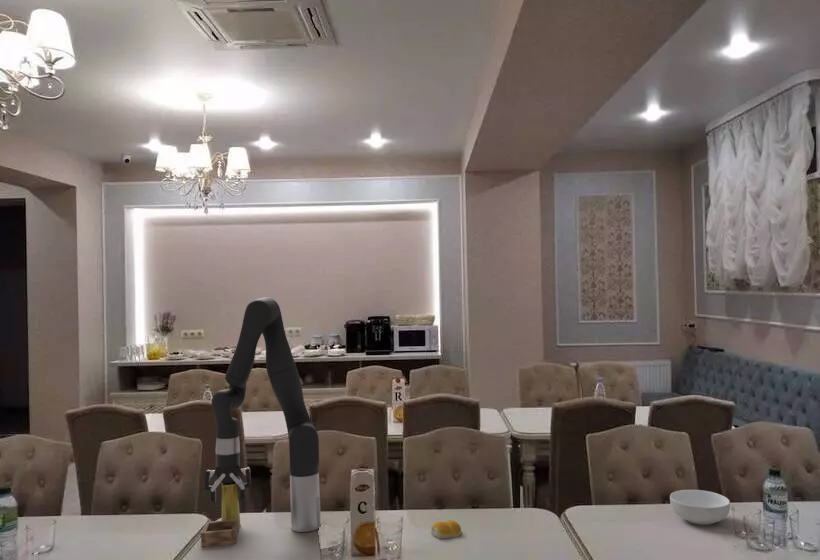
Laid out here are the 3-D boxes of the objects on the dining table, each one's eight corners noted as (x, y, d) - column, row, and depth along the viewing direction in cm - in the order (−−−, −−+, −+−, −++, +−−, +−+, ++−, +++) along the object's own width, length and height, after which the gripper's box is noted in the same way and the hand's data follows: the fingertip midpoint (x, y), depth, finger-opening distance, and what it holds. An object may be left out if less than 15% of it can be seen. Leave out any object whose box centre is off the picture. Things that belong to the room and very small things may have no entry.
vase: (235, 530, 202) (233, 485, 203) (217, 530, 203) (216, 485, 204) (243, 524, 208) (242, 480, 209) (226, 523, 209) (225, 479, 210)
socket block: (238, 531, 201) (238, 518, 201) (235, 543, 192) (235, 530, 192) (206, 534, 200) (205, 521, 200) (201, 546, 190) (200, 533, 190)
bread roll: (466, 535, 192) (465, 522, 192) (440, 541, 188) (439, 527, 188) (451, 526, 200) (451, 514, 200) (426, 532, 195) (426, 519, 196)
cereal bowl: (670, 527, 192) (669, 503, 192) (670, 509, 208) (669, 487, 208) (733, 533, 186) (732, 508, 186) (728, 514, 201) (727, 491, 202)
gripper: (251, 447, 211) (251, 496, 210) (206, 449, 208) (206, 499, 208) (249, 452, 204) (250, 503, 203) (203, 455, 201) (203, 506, 200)
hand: (228, 501), depth 205 cm, fingers open, 8 cm apart
